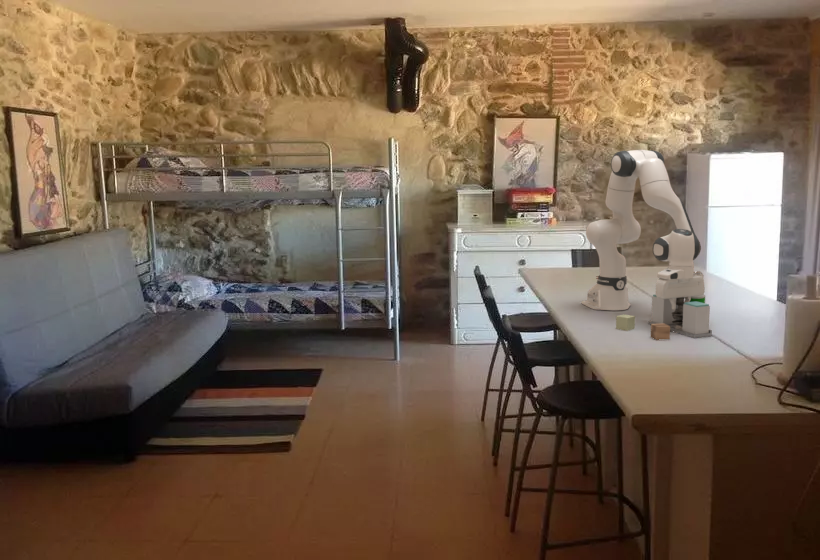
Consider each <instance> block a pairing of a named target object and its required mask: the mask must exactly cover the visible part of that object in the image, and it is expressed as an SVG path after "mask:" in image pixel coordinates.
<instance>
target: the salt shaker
mask: <svg viewBox="0 0 820 560" xmlns="http://www.w3.org/2000/svg"><path fill="white" fill-rule="evenodd" d="M684 301H685V299H684V297H680V298H676V305H678V309H675V311H674V312H672V313H671V314H672V316H673V318H674V319H675V320H674V321H672V323H674V324H683V304H684Z"/></svg>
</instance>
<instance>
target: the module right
mask: <svg viewBox="0 0 820 560" xmlns="http://www.w3.org/2000/svg"><path fill="white" fill-rule="evenodd" d="M710 307H711V306H710V304H709V303H706V302H705V303H701V302H697V301H695V302H685V303H684V304H683V320H682V321H683V327H682V330H683V331H686V332H689V333H693V334H703V333H709V329H710V314H711V313H710V312H711V311H710V309H711V308H710Z"/></svg>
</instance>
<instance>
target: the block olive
mask: <svg viewBox="0 0 820 560" xmlns="http://www.w3.org/2000/svg"><path fill="white" fill-rule="evenodd" d="M615 319H616V320H615V329H616V330H620V329H621V331H625V330H626V332H628V331H631V330H635V329H636V327H635V326H636V316H635V315H629V314H621V315H619V314H618V315H616V317H615Z"/></svg>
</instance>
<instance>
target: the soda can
mask: <svg viewBox="0 0 820 560" xmlns="http://www.w3.org/2000/svg"><path fill="white" fill-rule="evenodd" d="M695 301H697V302H701V303H705V304H706V294H705V293H704V294H703V295H701V296H691V300H690V302H695Z"/></svg>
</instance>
